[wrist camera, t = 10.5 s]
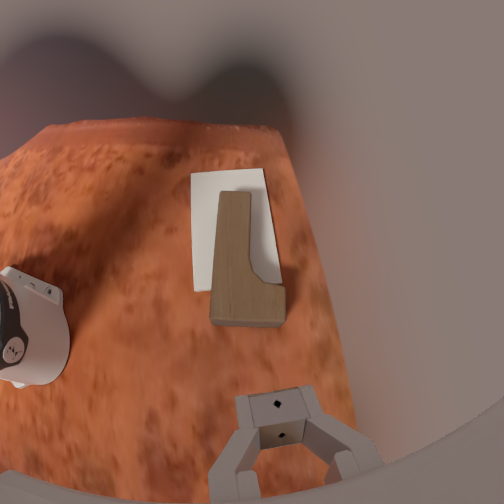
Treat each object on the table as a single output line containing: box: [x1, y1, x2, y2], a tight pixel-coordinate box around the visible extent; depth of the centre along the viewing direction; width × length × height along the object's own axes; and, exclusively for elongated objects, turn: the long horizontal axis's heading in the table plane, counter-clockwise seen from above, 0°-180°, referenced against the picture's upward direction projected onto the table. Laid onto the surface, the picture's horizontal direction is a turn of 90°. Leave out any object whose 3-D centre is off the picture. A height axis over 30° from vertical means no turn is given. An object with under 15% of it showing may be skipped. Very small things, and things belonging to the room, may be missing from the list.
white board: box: [191, 169, 282, 292], centre depth 43 cm, size 20×12×1 cm, turn 7°
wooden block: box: [209, 191, 286, 328], centre depth 38 cm, size 9×4×18 cm
